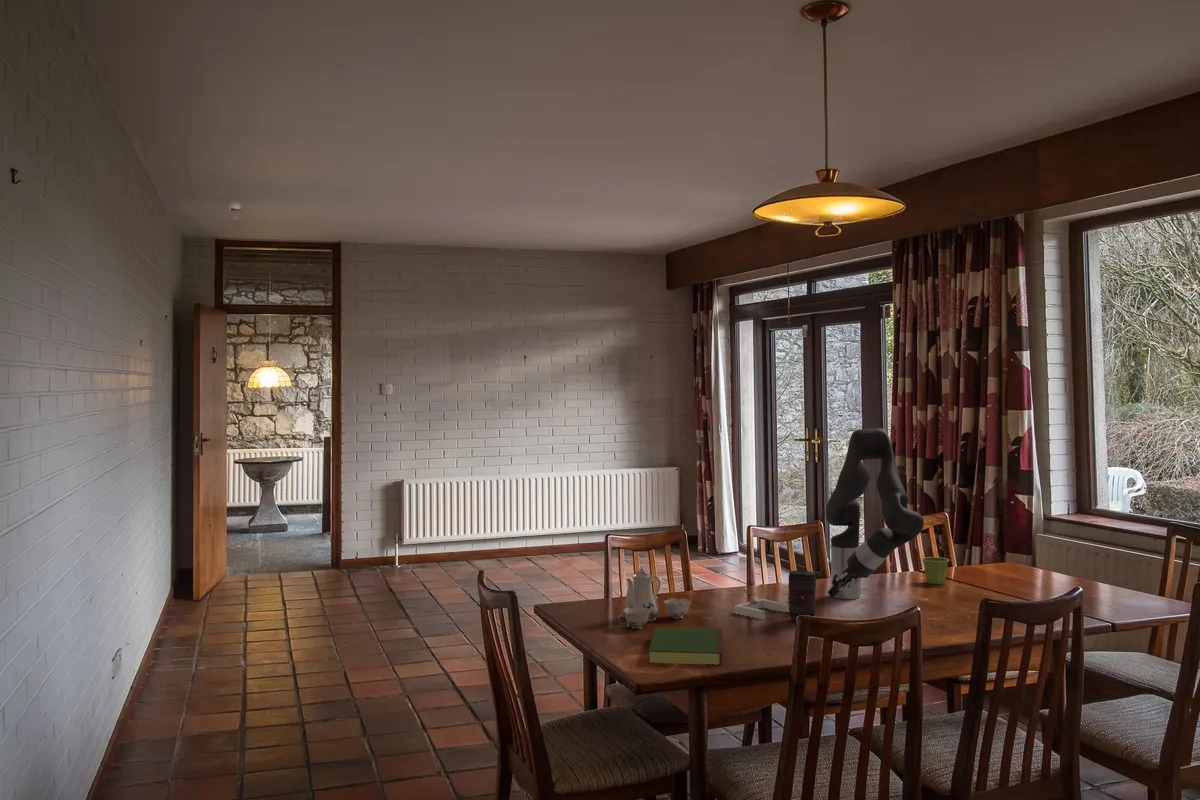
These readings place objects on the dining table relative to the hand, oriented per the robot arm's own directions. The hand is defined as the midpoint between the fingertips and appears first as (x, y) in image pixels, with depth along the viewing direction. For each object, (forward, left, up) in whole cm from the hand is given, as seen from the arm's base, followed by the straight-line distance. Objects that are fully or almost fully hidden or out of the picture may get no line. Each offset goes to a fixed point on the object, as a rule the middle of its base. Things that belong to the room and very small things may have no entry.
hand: (831, 594), depth 274 cm
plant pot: (-80, -10, -10) cm, 81 cm away
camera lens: (0, -10, -10) cm, 14 cm away
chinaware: (+32, -44, -10) cm, 55 cm away
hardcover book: (+48, -13, -11) cm, 51 cm away
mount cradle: (0, -26, -10) cm, 27 cm away
